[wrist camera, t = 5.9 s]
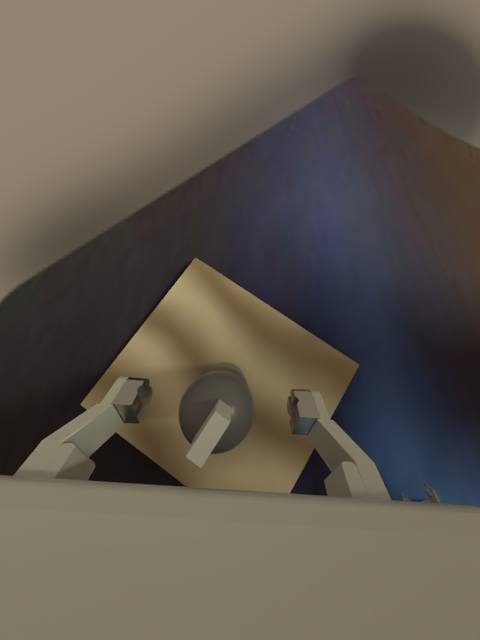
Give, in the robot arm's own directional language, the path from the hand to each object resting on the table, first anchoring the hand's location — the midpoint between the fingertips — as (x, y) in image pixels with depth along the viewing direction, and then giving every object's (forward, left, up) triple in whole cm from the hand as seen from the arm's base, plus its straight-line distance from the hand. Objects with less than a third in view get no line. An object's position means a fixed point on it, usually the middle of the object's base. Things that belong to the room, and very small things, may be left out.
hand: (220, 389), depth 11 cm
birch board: (+1, 0, -6) cm, 6 cm away
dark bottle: (+1, 0, -5) cm, 5 cm away
